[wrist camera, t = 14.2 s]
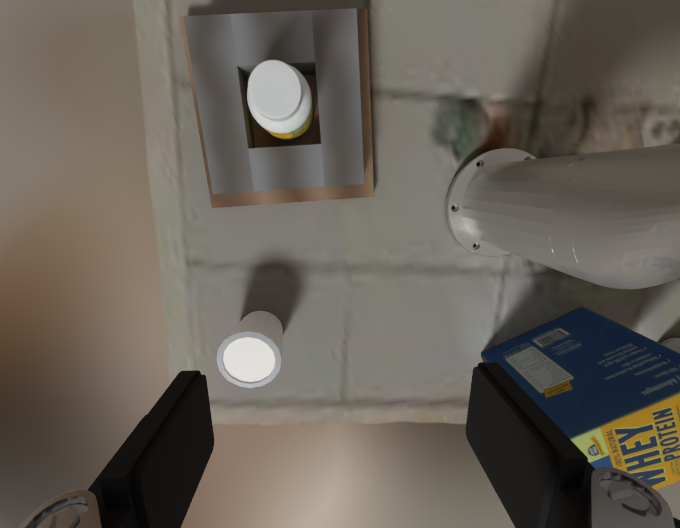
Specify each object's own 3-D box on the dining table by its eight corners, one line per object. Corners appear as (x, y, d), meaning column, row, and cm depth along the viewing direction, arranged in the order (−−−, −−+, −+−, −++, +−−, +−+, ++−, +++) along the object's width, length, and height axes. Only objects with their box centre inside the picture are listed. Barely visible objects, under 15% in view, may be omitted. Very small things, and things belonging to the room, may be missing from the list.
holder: (365, 16, 32) (372, -14, 27) (371, 195, 37) (379, 198, 32) (186, 24, 31) (161, -4, 26) (216, 206, 36) (200, 210, 31)
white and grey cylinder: (232, 305, 39) (213, 331, 32) (287, 305, 40) (280, 331, 33) (235, 354, 41) (218, 389, 34) (288, 354, 41) (282, 388, 35)
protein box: (601, 364, 45) (742, 457, 30) (501, 408, 46) (589, 520, 31) (583, 304, 42) (729, 372, 27) (478, 352, 43) (562, 443, 28)
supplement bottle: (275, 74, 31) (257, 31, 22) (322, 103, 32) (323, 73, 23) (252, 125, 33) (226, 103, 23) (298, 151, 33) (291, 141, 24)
